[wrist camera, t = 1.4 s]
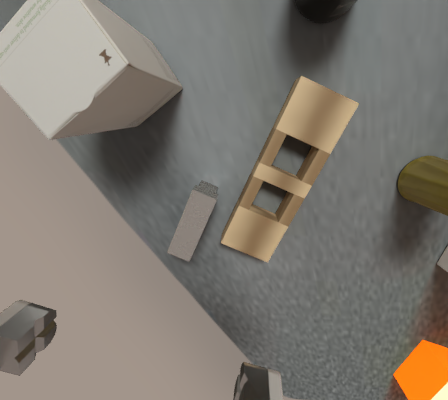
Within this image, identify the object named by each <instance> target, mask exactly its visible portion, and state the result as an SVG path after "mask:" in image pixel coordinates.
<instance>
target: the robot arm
mask: <svg viewBox="0 0 448 400" xmlns="http://www.w3.org/2000/svg"><path fill="white" fill-rule="evenodd" d="M55 318H56V310H53V309H50V308H46V307H43V306H40V305H37V304H33V303H30V302H27V301H23V300H19V301H16V302H15V303H13V304H12V305H11V306H9V307H8V308H7V309H5V310H4V311H3V312H1V313H0V371H3V372H7V373H11V374H15V375H19V376H20V375H21V374H22V373H23V371H25V370H26V368H27V367H28V366H29V365H30V364H31V363H32V362H33V361H34V360H35V356H36V353H37V352H39V351H42V350H44V349H45V348H46V347H47V346H48V344H49V343H50V342H51V340H52V339H53V337H54V335H55V332H56V326H57V325H56V323H55V322H54V319H55ZM233 400H283V392H282V383H281V375H280V373H279V372H278V371H275V370H271V369H267V368H265V367H261V366H257V365H253V364H250V363H246V362H243V363H242V366H241V370H240V375H238V377H237V380H236V384H235V389H234V399H233Z"/></svg>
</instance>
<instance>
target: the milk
mask: <svg viewBox="0 0 448 400" xmlns="http://www.w3.org/2000/svg"><path fill="white" fill-rule="evenodd" d="M437 265H439V266H440V267H441V268H443V269H444V270H445V271H447V272H448V246H447V247H446V249H445V251H444V252H443V254H442V256H441V257H440V259H439V261H438V262H437Z"/></svg>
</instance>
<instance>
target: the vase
mask: <svg viewBox="0 0 448 400" xmlns="http://www.w3.org/2000/svg"><path fill="white" fill-rule="evenodd" d="M398 189H399V192H400V194H401V195H402V196H403V197H404V198H405V199H407V200H409V201H412V202H416V203H418V204H420V205H422V206H425V207H427V208H430V209H432V210H434V211H437V212H440V213H442V214H444V215H447V216H448V160H444V159H441V158H438V157H435V156H424V157H420V158H418V159H415V160H413V161H412V162H410V163H409V164H408V165H407V166H405V168H404V169H403V170H402V172H401V173H400V176H399V179H398Z"/></svg>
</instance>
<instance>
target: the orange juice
mask: <svg viewBox="0 0 448 400" xmlns="http://www.w3.org/2000/svg"><path fill="white" fill-rule="evenodd" d="M393 375H394V377H395V378H396V380H397V382H398V383H399V385H400V387H401V388H402V390H403V391H404V393H405V395H406V396H407V398H408V400H448V348H446V347H443V346H440V345H437V344H434V343H431V342H428V341H425V340H422V341H421V342H420V343H419V345H418V346H417V347H416V348H415V349H414V350H413V352H412V353H411V354H410V355H409V356H408V358H407V359H406V360H405V361H404V362H403V363H402V365H401V366H400V367H399V368H398V369H397V371H396V372H395V373H394V374H393Z"/></svg>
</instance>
